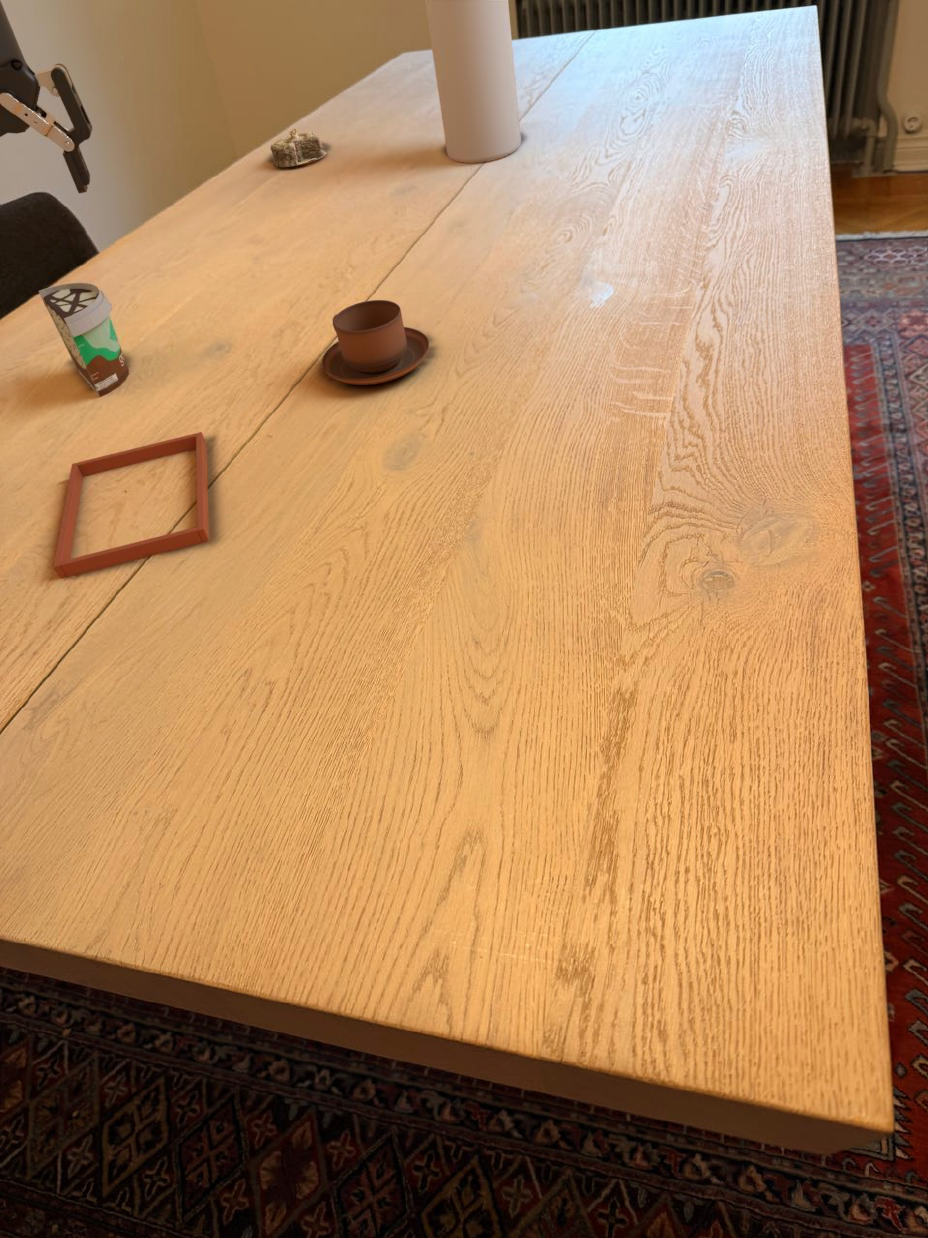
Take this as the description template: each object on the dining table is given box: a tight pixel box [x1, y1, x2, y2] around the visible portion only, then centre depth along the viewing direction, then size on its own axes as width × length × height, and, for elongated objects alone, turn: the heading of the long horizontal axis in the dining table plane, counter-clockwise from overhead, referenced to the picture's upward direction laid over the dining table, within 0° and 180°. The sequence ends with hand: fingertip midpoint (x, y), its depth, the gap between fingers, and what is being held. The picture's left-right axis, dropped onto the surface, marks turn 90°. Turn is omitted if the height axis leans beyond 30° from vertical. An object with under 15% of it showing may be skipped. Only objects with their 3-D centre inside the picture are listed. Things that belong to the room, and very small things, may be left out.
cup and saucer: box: [321, 299, 430, 386], centre depth 99 cm, size 12×12×6 cm
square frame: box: [53, 431, 210, 580], centre depth 86 cm, size 13×17×2 cm
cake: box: [270, 128, 328, 168], centre depth 163 cm, size 10×10×5 cm
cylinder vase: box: [424, 0, 522, 164], centre depth 144 cm, size 12×12×25 cm
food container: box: [38, 282, 130, 398], centre depth 107 cm, size 12×6×10 cm, turn 34°
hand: (40, 200), depth 88 cm, fingers open, 8 cm apart
